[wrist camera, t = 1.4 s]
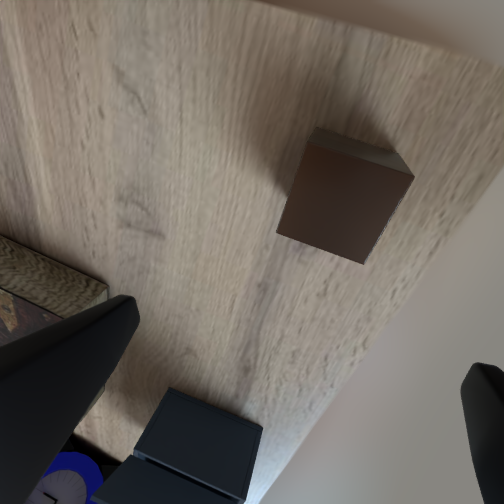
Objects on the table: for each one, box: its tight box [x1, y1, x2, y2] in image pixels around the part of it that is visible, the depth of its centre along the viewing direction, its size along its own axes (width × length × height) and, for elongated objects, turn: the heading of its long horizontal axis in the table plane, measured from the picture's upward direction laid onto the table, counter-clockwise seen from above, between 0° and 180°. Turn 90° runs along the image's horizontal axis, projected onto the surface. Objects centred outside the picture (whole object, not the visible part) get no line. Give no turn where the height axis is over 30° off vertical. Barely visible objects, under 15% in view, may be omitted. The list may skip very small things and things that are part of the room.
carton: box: [133, 387, 263, 504], centre depth 32 cm, size 13×11×7 cm
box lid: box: [90, 454, 237, 504], centre depth 23 cm, size 6×11×1 cm
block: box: [276, 127, 415, 265], centre depth 15 cm, size 4×4×4 cm
